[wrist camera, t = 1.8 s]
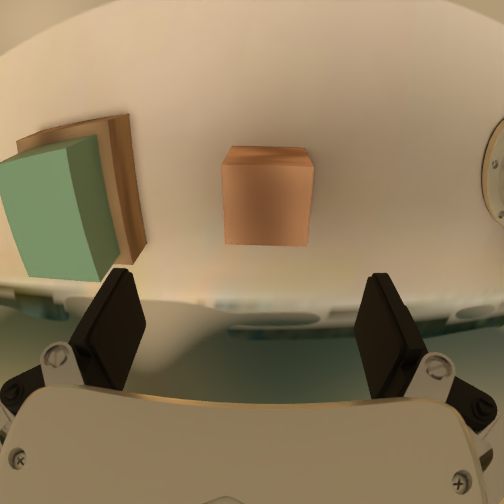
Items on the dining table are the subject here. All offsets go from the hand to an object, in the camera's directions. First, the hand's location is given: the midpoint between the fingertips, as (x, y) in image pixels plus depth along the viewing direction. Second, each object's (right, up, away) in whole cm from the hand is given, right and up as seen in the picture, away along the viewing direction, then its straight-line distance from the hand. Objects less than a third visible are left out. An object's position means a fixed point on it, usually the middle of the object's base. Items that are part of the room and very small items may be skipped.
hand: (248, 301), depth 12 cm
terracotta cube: (+1, +8, +12) cm, 14 cm away
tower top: (-15, +6, +10) cm, 19 cm away
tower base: (-15, +8, +13) cm, 21 cm away
